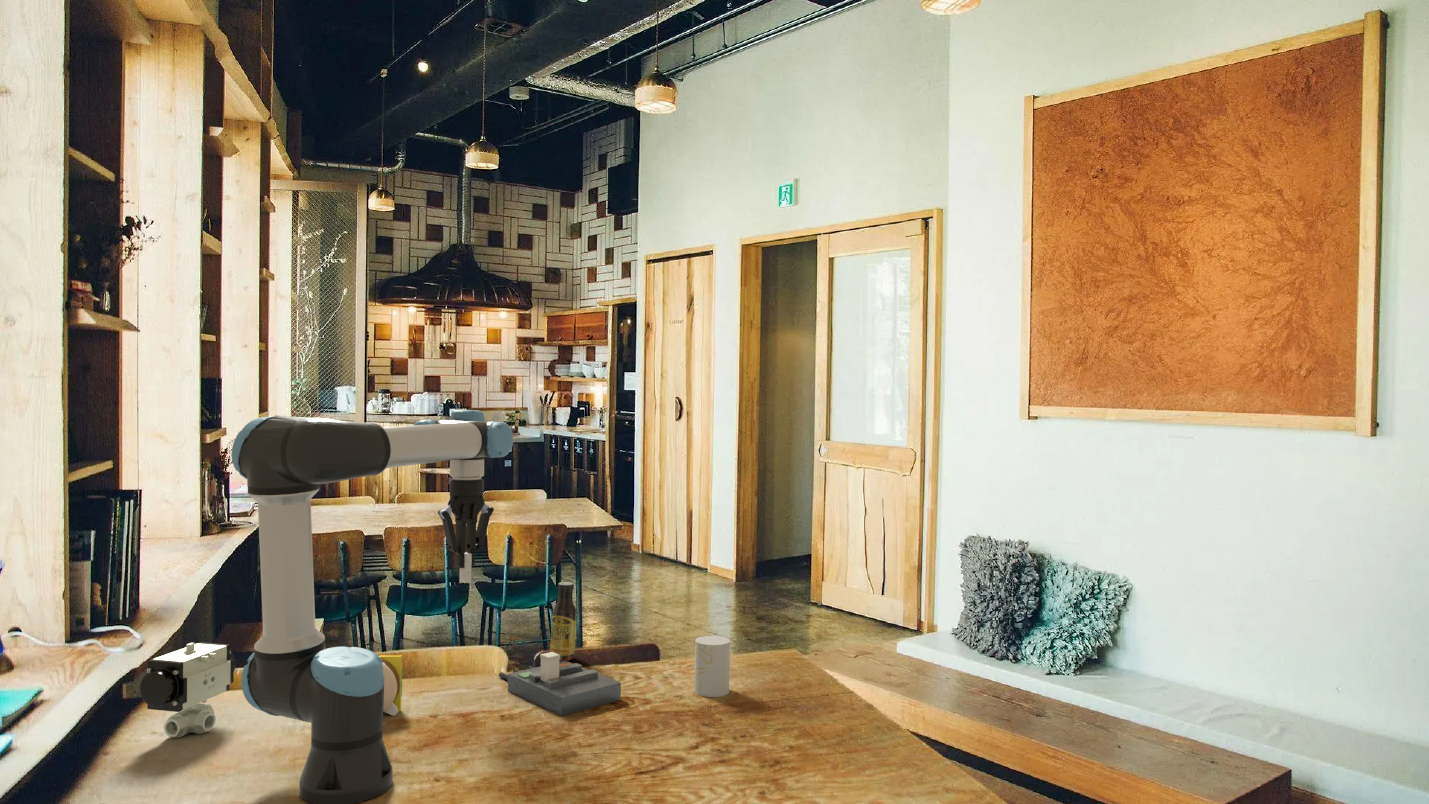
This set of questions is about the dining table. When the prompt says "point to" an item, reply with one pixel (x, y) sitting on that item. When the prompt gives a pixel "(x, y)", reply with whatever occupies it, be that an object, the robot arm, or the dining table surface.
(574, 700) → the grey slider base
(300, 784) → the robot arm
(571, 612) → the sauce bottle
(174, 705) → the ball valve
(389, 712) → the yellow block with disc
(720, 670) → the white cylinder
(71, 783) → the dining table surface
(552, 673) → the lever
